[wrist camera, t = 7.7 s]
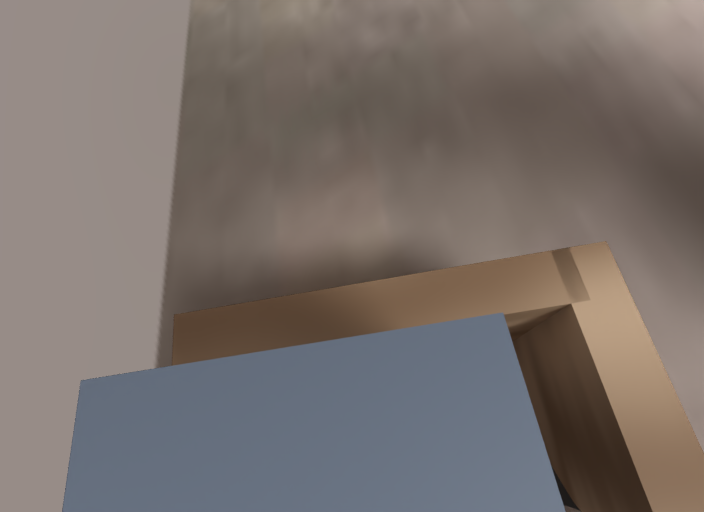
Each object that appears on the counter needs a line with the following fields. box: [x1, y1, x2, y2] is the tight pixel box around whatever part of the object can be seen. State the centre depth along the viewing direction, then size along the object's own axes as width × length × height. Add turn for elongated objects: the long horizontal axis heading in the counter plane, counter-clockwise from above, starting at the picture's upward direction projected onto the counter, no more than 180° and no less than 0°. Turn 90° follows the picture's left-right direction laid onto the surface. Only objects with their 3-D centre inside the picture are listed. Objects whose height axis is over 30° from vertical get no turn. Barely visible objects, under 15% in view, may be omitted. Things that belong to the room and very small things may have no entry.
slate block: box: [62, 312, 566, 512], centre depth 8 cm, size 5×5×11 cm
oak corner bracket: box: [172, 241, 704, 512], centre depth 12 cm, size 11×12×8 cm
